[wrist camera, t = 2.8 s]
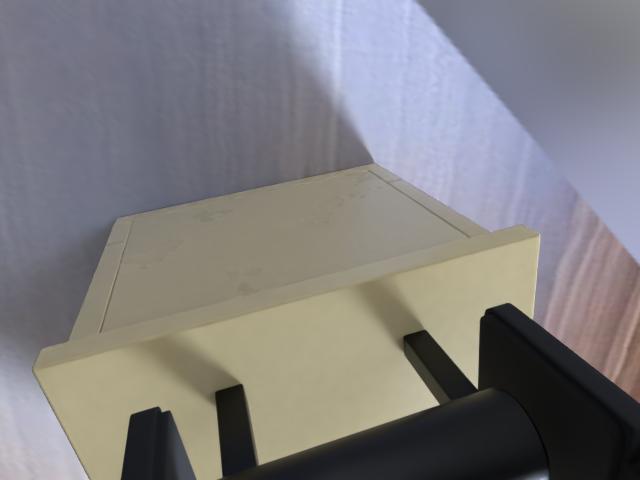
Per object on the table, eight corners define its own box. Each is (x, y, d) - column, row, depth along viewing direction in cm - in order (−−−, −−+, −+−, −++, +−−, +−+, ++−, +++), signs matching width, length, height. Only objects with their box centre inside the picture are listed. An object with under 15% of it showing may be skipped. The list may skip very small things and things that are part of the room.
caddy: (115, 217, 20) (54, 373, 10) (376, 162, 22) (518, 247, 13) (200, 455, 27) (210, 683, 17) (394, 393, 29) (497, 562, 20)
